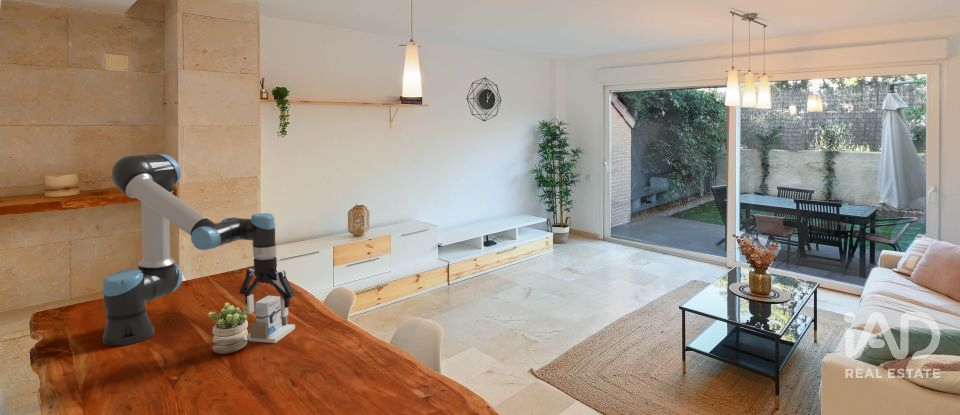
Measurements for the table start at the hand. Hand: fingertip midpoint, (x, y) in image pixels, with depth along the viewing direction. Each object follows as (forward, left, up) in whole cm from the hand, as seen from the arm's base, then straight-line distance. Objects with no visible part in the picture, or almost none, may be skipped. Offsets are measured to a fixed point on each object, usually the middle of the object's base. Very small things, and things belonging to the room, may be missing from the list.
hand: (268, 314), depth 179 cm
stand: (0, 0, -8) cm, 8 cm away
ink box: (0, 0, -6) cm, 6 cm away
